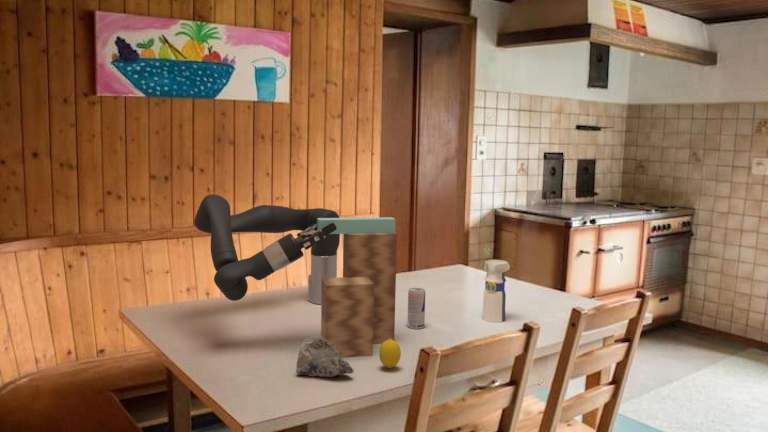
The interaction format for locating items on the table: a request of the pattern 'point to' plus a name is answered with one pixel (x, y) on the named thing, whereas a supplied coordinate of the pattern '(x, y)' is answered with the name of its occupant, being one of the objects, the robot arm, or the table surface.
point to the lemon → (389, 353)
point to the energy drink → (416, 308)
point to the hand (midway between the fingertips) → (332, 223)
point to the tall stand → (375, 275)
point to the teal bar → (359, 225)
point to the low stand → (348, 314)
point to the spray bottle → (494, 290)
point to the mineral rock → (321, 359)
